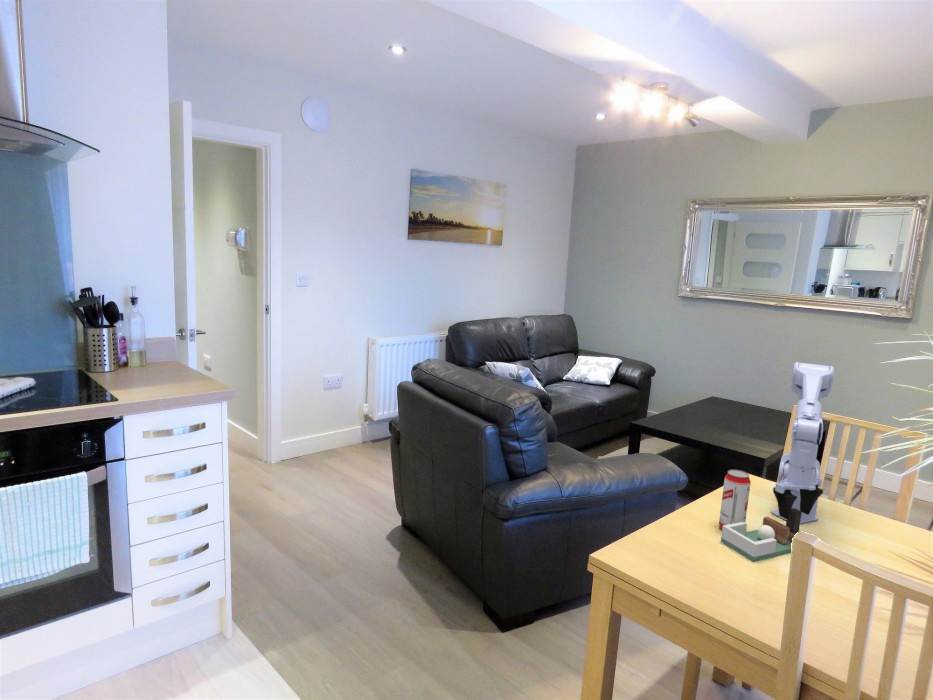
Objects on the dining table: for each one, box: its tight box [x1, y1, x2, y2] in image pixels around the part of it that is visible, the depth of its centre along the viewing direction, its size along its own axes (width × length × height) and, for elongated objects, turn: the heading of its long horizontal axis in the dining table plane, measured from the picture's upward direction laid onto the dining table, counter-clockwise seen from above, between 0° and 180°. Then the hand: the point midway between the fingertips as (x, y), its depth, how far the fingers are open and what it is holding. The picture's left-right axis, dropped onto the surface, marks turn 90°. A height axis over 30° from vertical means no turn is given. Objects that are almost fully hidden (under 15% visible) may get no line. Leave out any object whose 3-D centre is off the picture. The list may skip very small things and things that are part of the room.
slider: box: [761, 508, 802, 544], centre depth 147 cm, size 8×6×6 cm
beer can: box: [718, 469, 752, 529], centre depth 152 cm, size 6×6×16 cm
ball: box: [757, 524, 775, 540], centre depth 145 cm, size 4×4×4 cm
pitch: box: [720, 522, 792, 562], centre depth 146 cm, size 21×10×4 cm, turn 113°
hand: (794, 515), depth 148 cm, fingers open, 7 cm apart
